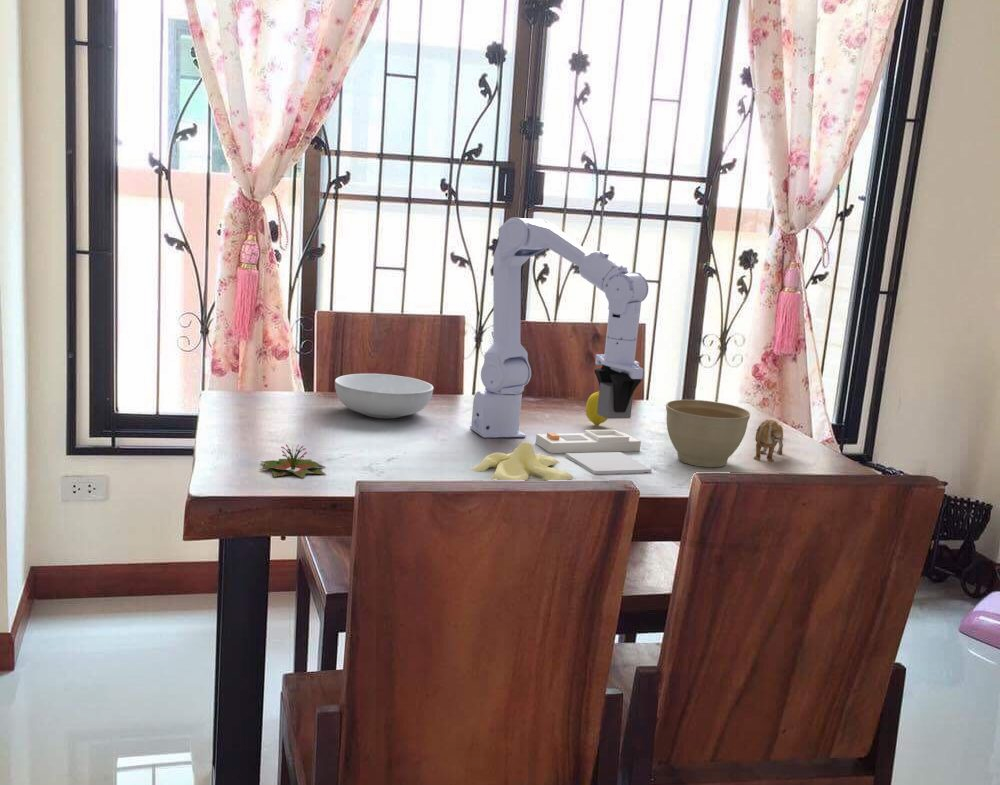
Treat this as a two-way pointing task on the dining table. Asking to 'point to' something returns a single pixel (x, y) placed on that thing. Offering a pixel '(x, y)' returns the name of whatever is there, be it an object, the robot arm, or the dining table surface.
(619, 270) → the robot arm
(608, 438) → the power strip
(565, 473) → the banana peel
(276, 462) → the lily flower
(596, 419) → the lemon
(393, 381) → the serving bowl
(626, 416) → the block
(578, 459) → the mat
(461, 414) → the dining table surface
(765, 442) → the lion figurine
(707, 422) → the planter bowl
